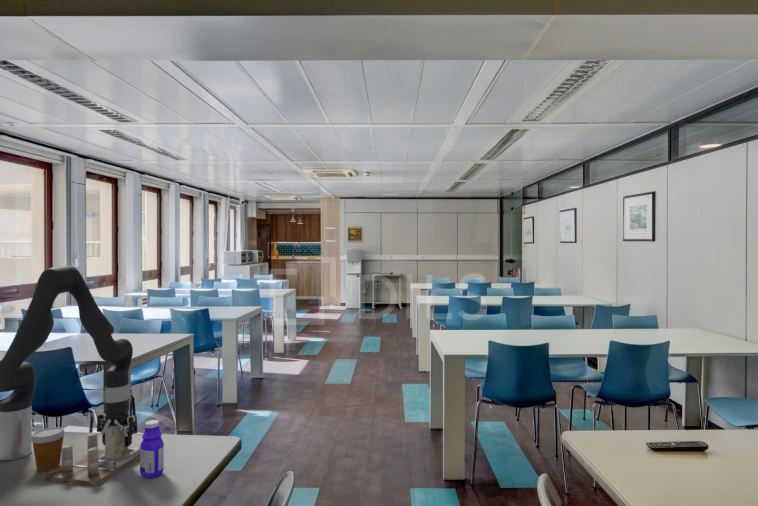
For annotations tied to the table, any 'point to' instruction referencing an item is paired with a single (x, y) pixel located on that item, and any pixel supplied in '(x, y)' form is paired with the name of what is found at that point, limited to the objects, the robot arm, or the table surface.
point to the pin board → (83, 472)
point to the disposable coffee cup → (48, 447)
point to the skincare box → (114, 444)
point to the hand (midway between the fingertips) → (117, 445)
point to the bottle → (151, 451)
